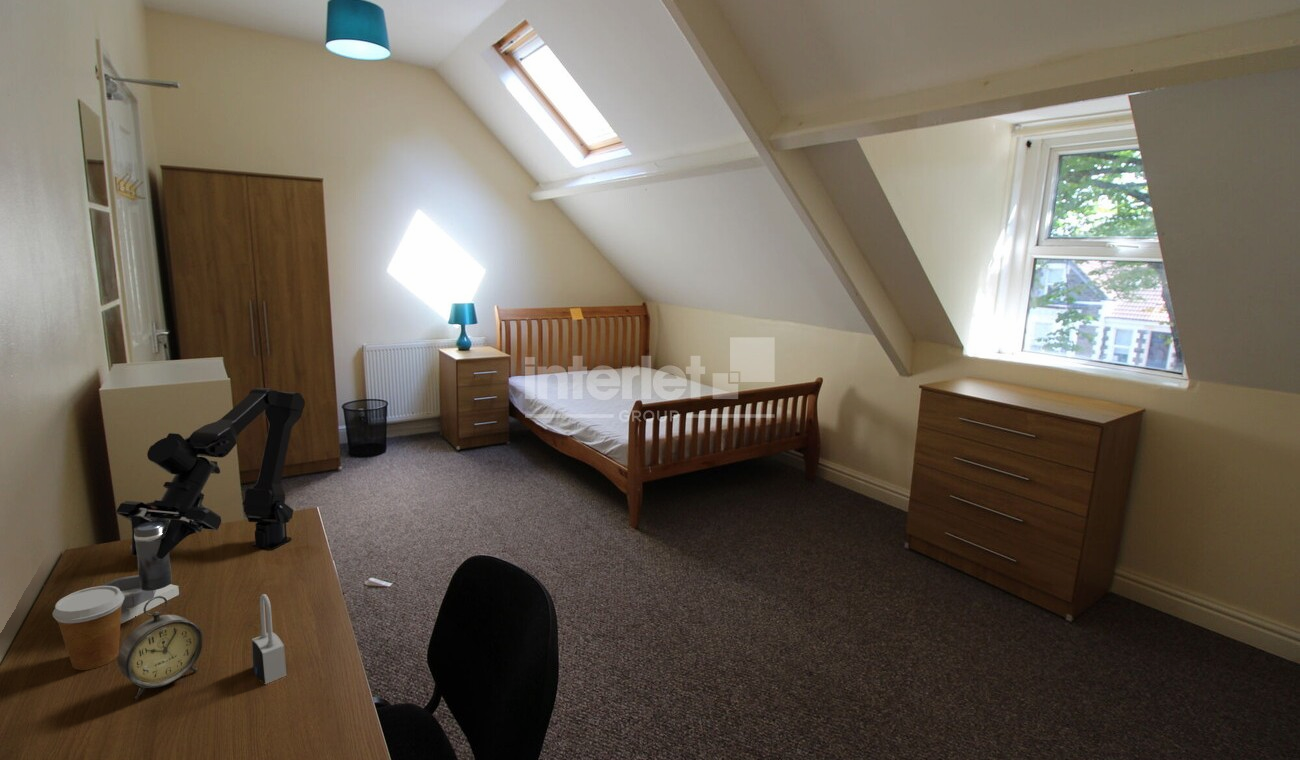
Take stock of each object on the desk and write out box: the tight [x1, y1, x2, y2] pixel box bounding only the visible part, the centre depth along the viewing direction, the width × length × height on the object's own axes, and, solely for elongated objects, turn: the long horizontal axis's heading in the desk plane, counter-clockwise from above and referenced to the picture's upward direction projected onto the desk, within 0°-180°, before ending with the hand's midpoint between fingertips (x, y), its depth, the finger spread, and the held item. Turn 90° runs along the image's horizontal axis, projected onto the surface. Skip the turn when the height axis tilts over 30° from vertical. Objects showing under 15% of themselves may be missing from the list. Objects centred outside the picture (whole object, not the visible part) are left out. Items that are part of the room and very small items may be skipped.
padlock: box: [251, 593, 287, 685], centre depth 110 cm, size 7×4×15 cm, turn 49°
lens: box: [134, 521, 173, 591], centre depth 124 cm, size 5×5×13 cm
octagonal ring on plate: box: [100, 574, 180, 625], centre depth 128 cm, size 14×10×4 cm
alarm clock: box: [117, 596, 204, 700], centre depth 106 cm, size 11×5×16 cm, turn 148°
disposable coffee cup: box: [52, 585, 125, 671], centre depth 111 cm, size 10×10×12 cm
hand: (147, 556), depth 123 cm, fingers closed on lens, 5 cm apart
